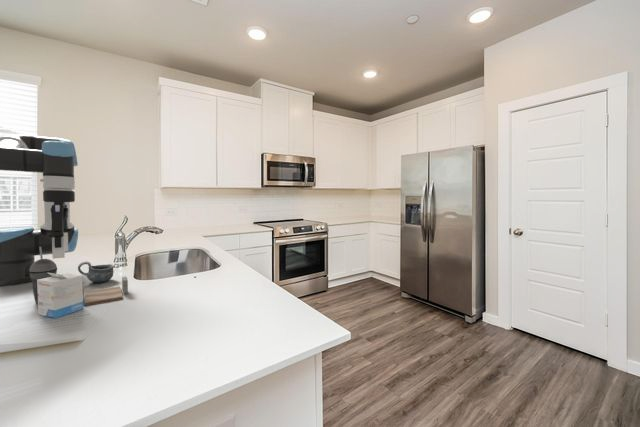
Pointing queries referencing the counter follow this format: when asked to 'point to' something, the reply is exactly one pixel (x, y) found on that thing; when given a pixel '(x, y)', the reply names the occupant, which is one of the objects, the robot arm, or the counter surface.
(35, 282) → the beverage cup
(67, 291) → the ink box
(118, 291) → the roll holder
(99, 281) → the mug
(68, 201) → the robot arm
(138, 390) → the counter surface
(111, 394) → the counter surface
